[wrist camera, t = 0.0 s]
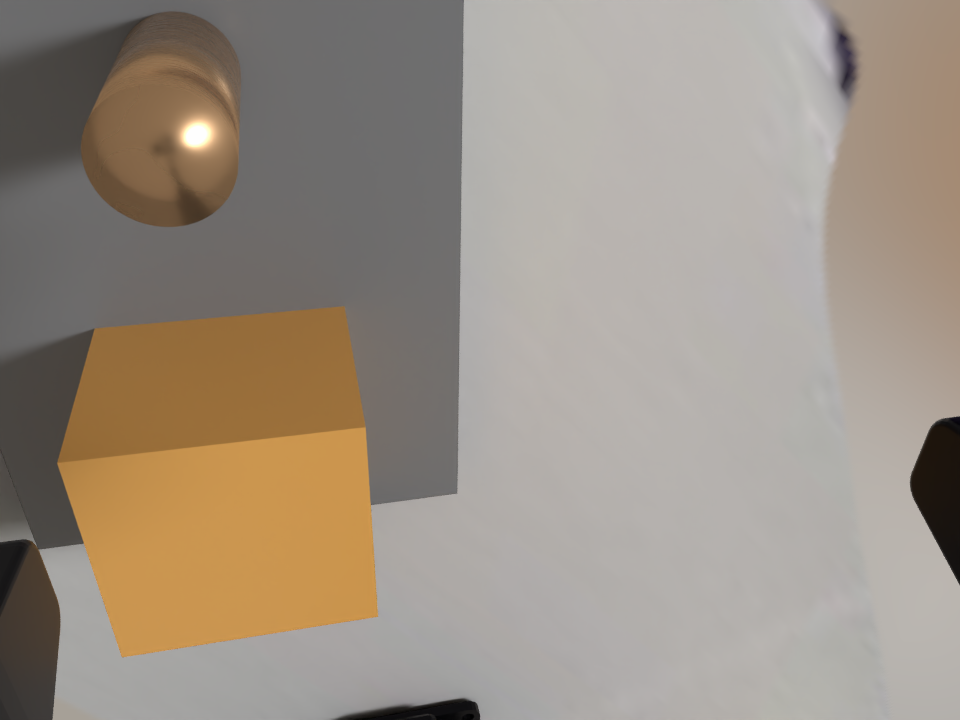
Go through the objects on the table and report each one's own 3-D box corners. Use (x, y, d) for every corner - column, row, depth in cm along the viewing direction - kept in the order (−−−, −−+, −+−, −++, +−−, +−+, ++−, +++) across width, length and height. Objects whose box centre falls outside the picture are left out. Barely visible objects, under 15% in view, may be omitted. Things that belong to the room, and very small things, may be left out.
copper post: (247, 125, 19) (247, 222, 15) (132, 130, 18) (99, 232, 14) (232, 9, 17) (227, 81, 13) (108, 12, 17) (64, 88, 13)
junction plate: (448, 461, 28) (457, 493, 26) (48, 512, 25) (38, 549, 24) (451, -210, 17) (466, -208, 16) (-216, -227, 15) (-256, -227, 14)
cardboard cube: (357, 481, 25) (377, 616, 21) (143, 509, 24) (121, 657, 20) (344, 306, 22) (365, 427, 18) (94, 328, 21) (57, 463, 17)
